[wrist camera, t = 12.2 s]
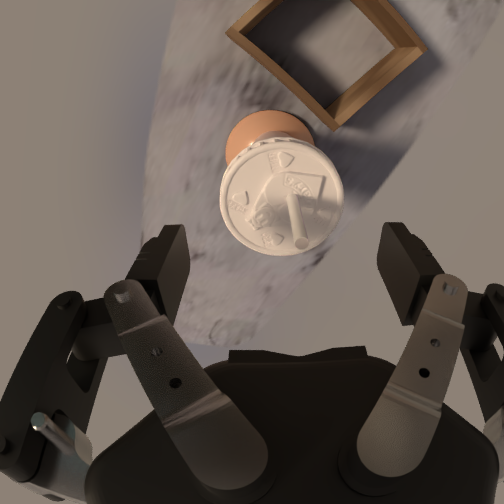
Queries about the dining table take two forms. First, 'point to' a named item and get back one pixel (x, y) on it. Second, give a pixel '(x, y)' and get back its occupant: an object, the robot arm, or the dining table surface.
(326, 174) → the smoothie
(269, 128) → the coaster
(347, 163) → the dining table surface
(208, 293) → the dining table surface
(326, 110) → the caddy
